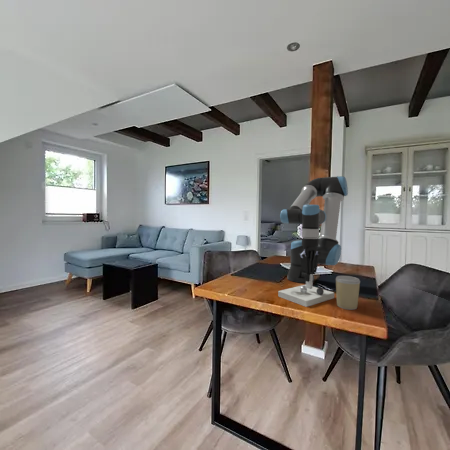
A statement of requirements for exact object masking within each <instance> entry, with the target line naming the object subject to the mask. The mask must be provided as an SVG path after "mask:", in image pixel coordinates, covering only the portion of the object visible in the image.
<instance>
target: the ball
mask: <svg viewBox="0 0 450 450" xmlns="http://www.w3.org/2000/svg"><path fill="white" fill-rule="evenodd" d="M317 288H318V289H317V293H318V294H319V295H322V294H323V293H324V291H323V290H324V288H321V287H317Z"/></svg>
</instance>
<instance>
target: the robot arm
mask: <svg viewBox="0 0 450 450" xmlns="http://www.w3.org/2000/svg"><path fill="white" fill-rule="evenodd" d="M348 189H349V188H348V182H347V178H346V177H345V176H339V175H337V176H326V177H325V176H324V177H317V178H314V179H312V180H310V181H308V182H307V183H306V184H305V185H303V187H302V188H301V190H300V194H299V195H298V196H297V197H296V199H295V200H294V201H293V203H292V204H291V206H289V208H286V209H285V208H284V209H282V210H281V211H280V214H279V218H280V222H281V223H282V224H288V225H290V224H293V225H294V224H295V225H296V224H297V225H301V237H302V238H301V240H294V241H291V244H290V266H289V269H288V273H287V274H286V275H287V281H290V282H293V283H300V284H301V283H303V284H305V285H306V288H309V289H312V288H313V287H314V286H313V283H314V282H315V275H316V273H317V271H318V266H319V265H324V266H336V265H337V264H338V262H339V261H340V259H341V252H342V246H341V244H339V243H340V241H338V239H337V233H338V226H339V225H338V224H339V218H340V209H341V202H342V201H344V200H345V197H347V196H348V193H349V190H348ZM318 197H321V198H322V199H323V200H324V205H323V206H324V207H323V209H320V205H319V204H310V203H311V202H312V200H314V199H315V198H318ZM320 226H321V227H320Z"/></svg>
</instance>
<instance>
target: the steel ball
mask: <svg viewBox="0 0 450 450" xmlns="http://www.w3.org/2000/svg"><path fill="white" fill-rule="evenodd" d="M300 286H301V287H300V291H301V292H302V293H306V292H307V288H306V287H305V286H302V285H300Z"/></svg>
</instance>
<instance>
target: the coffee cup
mask: <svg viewBox="0 0 450 450" xmlns="http://www.w3.org/2000/svg"><path fill="white" fill-rule="evenodd" d="M360 284H361V280H360V278H358V277H355V276H351V275H337V276H336V277H335V293H336V294H335V295H336V306H337V307H339V308H341V309H343V310H351V311H352V310H357V308H358V305H359V293H360Z"/></svg>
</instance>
